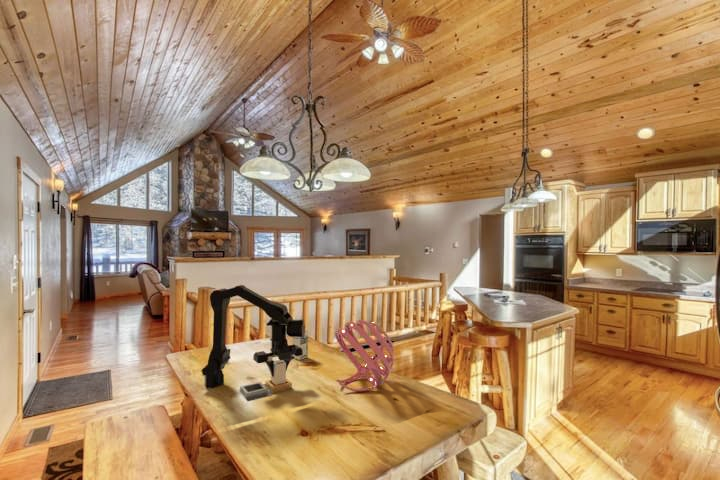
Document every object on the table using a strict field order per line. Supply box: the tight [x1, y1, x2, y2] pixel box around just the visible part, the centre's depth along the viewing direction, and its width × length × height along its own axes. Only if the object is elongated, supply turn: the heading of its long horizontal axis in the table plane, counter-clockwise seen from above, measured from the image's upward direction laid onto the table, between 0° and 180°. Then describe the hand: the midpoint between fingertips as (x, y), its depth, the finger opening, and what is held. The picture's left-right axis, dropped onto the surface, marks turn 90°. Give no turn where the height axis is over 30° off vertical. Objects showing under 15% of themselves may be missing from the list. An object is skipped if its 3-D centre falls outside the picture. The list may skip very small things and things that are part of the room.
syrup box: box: [291, 328, 309, 361], centre depth 178 cm, size 6×6×14 cm
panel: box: [238, 378, 294, 402], centre depth 135 cm, size 18×12×3 cm, turn 125°
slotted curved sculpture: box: [334, 319, 395, 393], centre depth 142 cm, size 28×28×27 cm
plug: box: [270, 359, 287, 385], centre depth 138 cm, size 4×4×8 cm
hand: (278, 375), depth 138 cm, fingers closed on plug, 4 cm apart
